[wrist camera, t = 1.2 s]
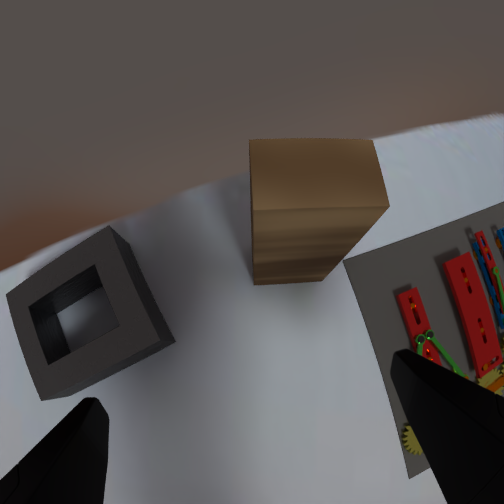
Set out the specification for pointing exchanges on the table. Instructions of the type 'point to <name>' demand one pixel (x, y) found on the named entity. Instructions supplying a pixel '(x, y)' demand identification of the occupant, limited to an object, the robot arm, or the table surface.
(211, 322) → the table surface
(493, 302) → the gear board
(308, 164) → the brown wooden block
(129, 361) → the grey block holder
